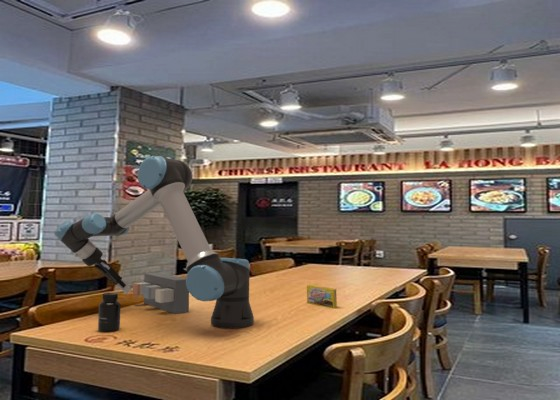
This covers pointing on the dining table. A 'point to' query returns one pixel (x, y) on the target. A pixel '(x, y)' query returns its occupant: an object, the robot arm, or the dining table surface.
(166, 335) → the dining table surface
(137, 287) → the terracotta button
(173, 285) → the console
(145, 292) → the slate button
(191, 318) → the dining table surface
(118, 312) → the supplement bottle
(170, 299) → the cream button
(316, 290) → the candy box
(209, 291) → the robot arm
